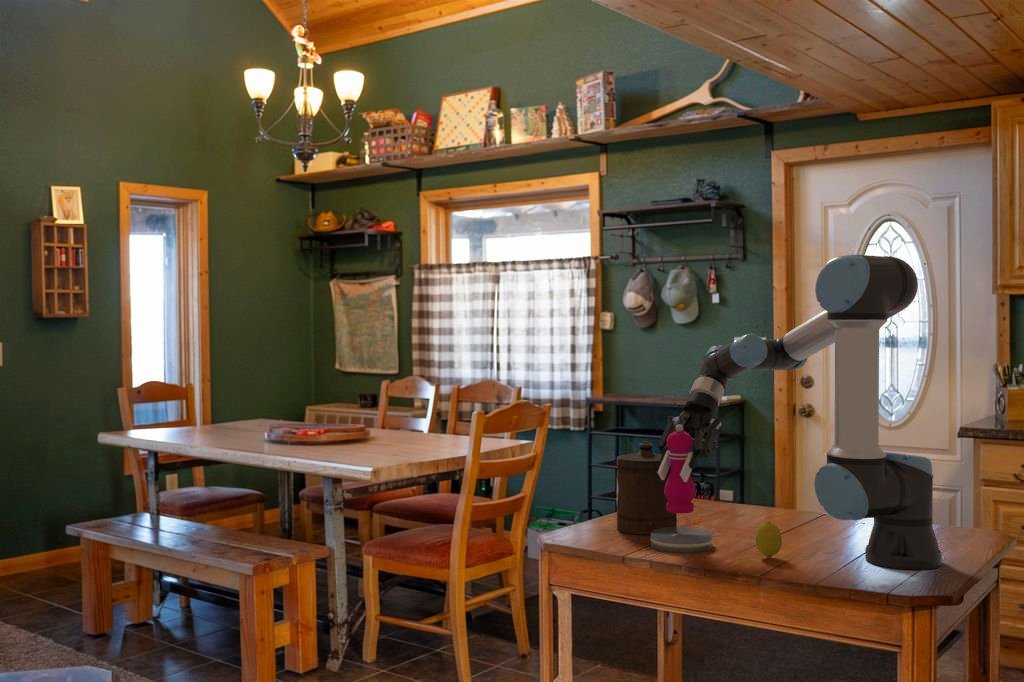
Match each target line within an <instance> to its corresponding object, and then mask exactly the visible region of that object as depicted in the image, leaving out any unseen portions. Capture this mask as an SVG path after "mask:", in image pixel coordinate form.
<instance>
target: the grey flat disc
mask: <svg viewBox="0 0 1024 682" xmlns="http://www.w3.org/2000/svg"><path fill="white" fill-rule="evenodd" d="M650 547H651V548H652V549H655V550H658V551H661V552H662V551H663V552H666V553H667V552H668V553H676V554H677V553H679V554H681V553H682V554H690V553H691V554H693V553H702V552H708V551H710V550H711V549H713V533H712V531H710V530H707V529H704V528H700V527H699V528H698V527H691V526H690V527H688V526H677V527H664V528H658V529H654V530H652V531H651V535H650Z"/></svg>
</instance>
